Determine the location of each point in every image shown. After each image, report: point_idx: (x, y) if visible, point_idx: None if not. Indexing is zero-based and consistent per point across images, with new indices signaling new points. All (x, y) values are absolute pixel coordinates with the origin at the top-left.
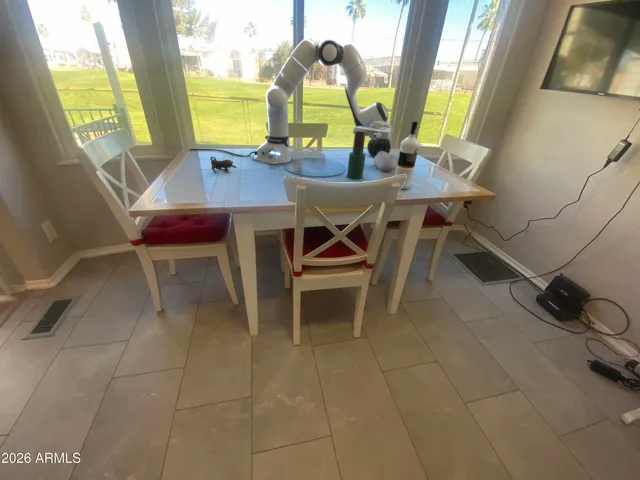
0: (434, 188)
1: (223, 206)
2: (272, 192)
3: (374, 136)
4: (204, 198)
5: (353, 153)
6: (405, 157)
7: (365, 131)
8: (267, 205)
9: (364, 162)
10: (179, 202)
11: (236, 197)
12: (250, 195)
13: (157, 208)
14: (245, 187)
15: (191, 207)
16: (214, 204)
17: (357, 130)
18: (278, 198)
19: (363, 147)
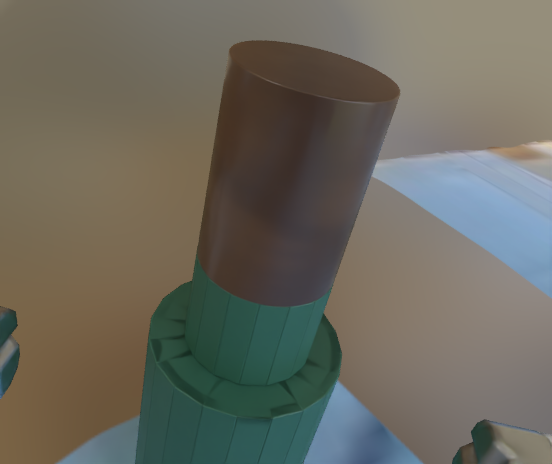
0: None
1: (466, 154)
2: (452, 212)
3: (4, 348)
4: (538, 173)
5: None
6: None
7: (229, 52)
8: (392, 161)
9: (142, 397)
10: (549, 160)
11: (493, 182)
12: (480, 192)
13: (544, 145)
14: (549, 226)
15: (507, 149)
16: (490, 158)
17: (349, 66)
18: (402, 187)
19: (196, 256)
